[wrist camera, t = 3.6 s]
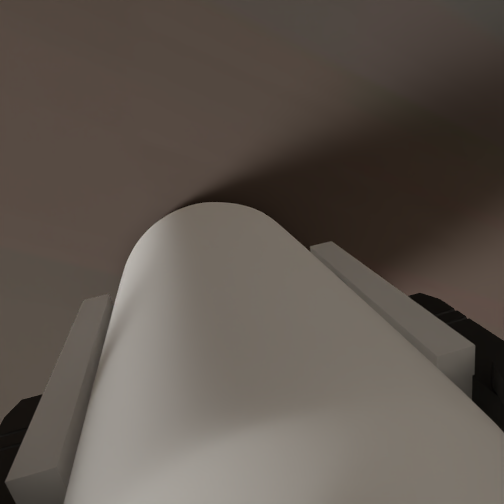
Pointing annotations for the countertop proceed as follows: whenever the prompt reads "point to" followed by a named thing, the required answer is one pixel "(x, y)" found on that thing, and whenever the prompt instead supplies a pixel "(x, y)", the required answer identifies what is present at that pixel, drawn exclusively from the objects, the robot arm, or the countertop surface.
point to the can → (267, 384)
